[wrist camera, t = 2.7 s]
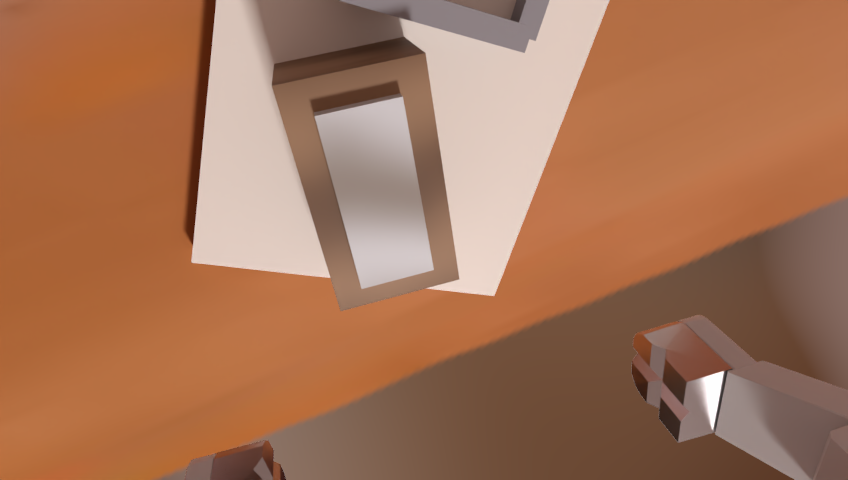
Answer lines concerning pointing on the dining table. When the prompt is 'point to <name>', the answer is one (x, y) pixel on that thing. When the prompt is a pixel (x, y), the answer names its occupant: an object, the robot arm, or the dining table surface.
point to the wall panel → (453, 106)
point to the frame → (370, 167)
